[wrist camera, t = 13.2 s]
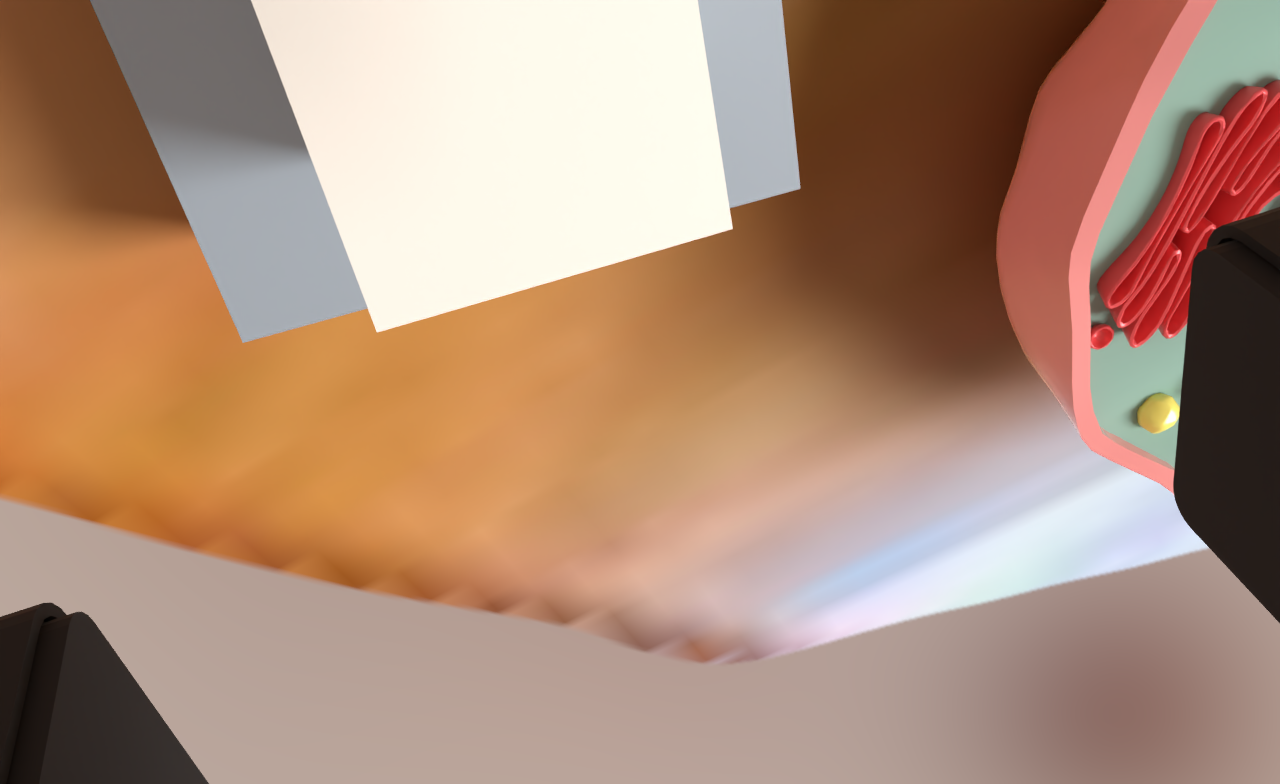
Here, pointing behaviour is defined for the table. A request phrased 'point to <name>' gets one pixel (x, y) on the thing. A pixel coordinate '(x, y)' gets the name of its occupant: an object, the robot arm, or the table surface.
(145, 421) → the table surface
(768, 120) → the base box
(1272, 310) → the robot arm
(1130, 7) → the cell model
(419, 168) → the cream matte cube
